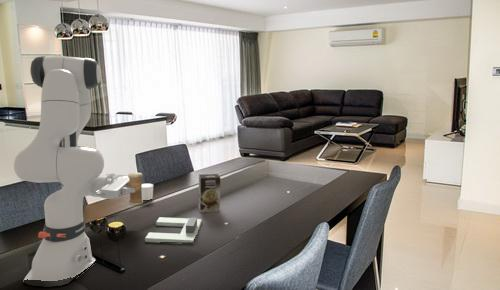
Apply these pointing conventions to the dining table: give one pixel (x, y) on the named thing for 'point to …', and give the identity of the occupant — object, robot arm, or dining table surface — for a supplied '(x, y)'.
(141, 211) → the dining table surface
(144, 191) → the shot glass
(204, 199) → the coffee box
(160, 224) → the notched board
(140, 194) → the bobbin
